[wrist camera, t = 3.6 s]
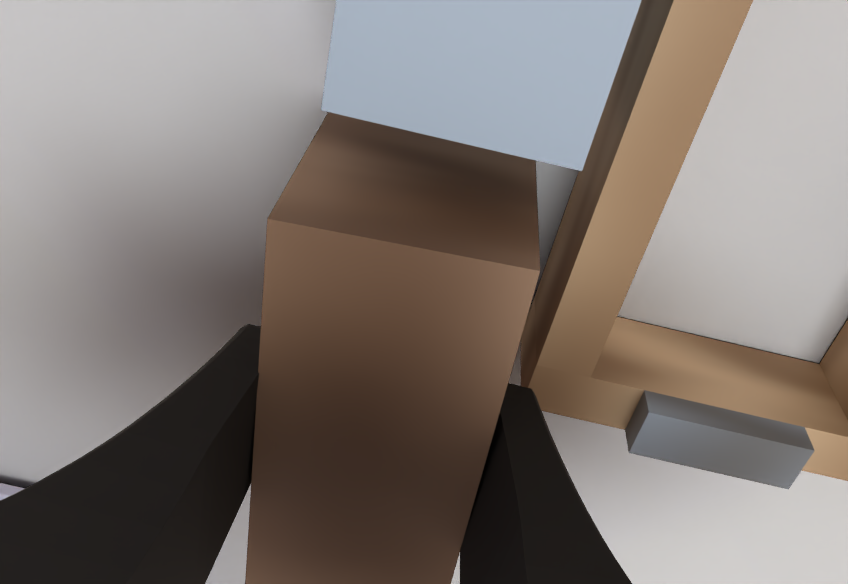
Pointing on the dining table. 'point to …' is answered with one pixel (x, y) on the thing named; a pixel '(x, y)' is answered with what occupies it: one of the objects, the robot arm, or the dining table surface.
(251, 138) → the dining table surface
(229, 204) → the dining table surface
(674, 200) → the dining table surface
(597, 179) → the rack
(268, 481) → the walnut block
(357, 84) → the slate stick
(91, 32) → the dining table surface
